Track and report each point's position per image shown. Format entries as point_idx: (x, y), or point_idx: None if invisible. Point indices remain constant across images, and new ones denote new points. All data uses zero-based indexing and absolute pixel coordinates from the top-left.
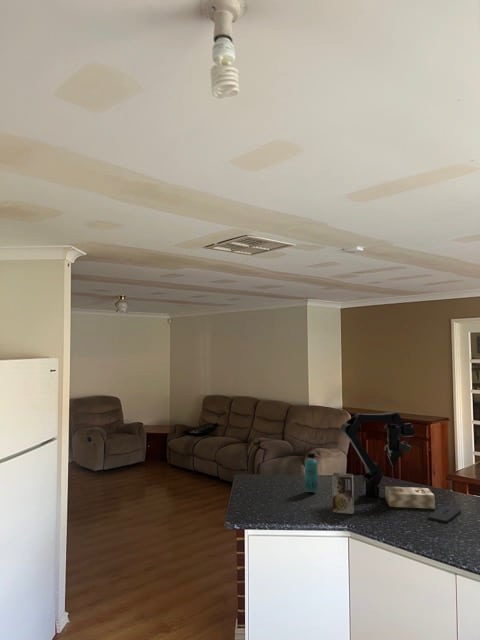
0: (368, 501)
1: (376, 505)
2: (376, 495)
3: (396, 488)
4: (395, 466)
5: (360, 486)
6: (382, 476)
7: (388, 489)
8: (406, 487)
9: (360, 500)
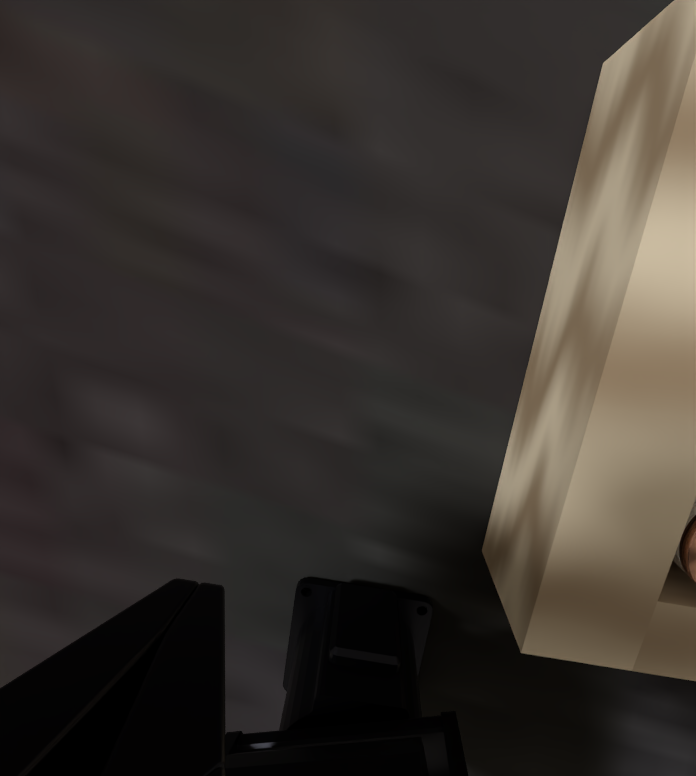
0: (548, 716)
1: (679, 689)
2: (401, 618)
3: (648, 542)
4: (224, 627)
5: (35, 644)
6: (420, 764)
7: (682, 662)
8: (612, 369)
9: (511, 767)
